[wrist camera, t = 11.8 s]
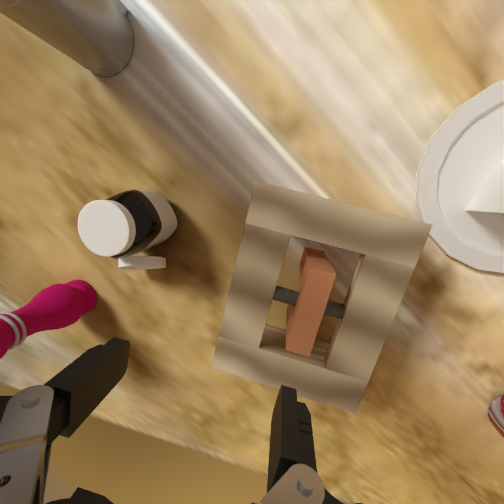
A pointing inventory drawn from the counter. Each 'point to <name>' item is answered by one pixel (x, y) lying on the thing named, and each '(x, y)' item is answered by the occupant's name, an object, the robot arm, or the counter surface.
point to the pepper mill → (46, 312)
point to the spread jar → (128, 227)
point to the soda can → (497, 414)
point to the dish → (467, 182)
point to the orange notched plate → (309, 302)
